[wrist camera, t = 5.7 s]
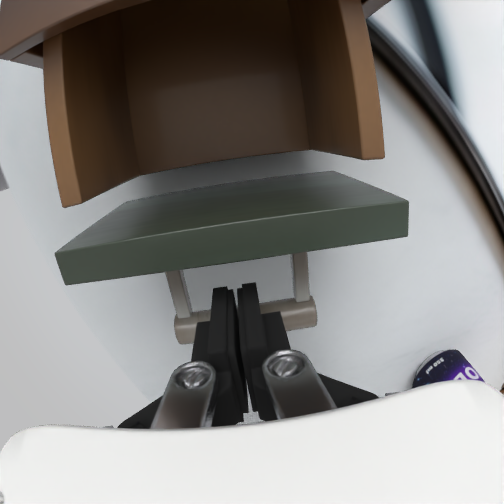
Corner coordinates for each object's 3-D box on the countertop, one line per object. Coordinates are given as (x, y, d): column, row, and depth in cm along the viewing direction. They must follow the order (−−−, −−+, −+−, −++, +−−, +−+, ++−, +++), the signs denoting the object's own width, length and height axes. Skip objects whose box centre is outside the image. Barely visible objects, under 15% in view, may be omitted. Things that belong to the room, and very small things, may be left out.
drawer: (338, 270, 18) (395, 350, 11) (150, 296, 18) (111, 387, 11) (298, -40, 11) (335, -118, 4) (102, -9, 11) (40, -67, 4)
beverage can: (464, 355, 23) (529, 436, 12) (425, 395, 25) (476, 482, 14) (442, 335, 22) (518, 431, 11) (397, 380, 23) (454, 485, 12)
